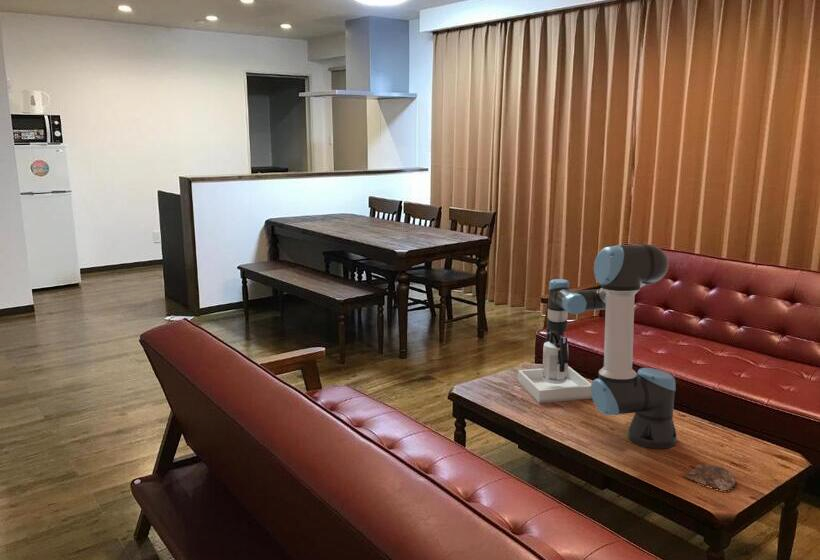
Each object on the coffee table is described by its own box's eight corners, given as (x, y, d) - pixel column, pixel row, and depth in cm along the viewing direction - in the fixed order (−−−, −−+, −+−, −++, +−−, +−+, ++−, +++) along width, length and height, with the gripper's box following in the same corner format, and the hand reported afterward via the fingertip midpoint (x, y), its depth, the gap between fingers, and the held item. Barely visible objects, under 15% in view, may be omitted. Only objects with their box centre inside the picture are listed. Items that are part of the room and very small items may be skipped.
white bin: (593, 398, 249) (594, 385, 248) (539, 403, 245) (539, 390, 244) (568, 377, 270) (568, 366, 269) (517, 381, 266) (518, 370, 265)
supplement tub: (571, 380, 256) (573, 344, 253) (558, 386, 250) (560, 350, 247) (551, 373, 263) (552, 339, 260) (537, 380, 257) (538, 344, 254)
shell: (699, 465, 199) (700, 454, 199) (742, 481, 190) (744, 470, 190) (681, 479, 192) (682, 467, 191) (726, 496, 183) (727, 484, 182)
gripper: (579, 327, 241) (576, 384, 246) (554, 311, 262) (552, 363, 267) (560, 328, 240) (557, 385, 245) (537, 312, 261) (534, 365, 266)
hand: (554, 374), depth 256 cm, fingers closed on supplement tub, 10 cm apart
